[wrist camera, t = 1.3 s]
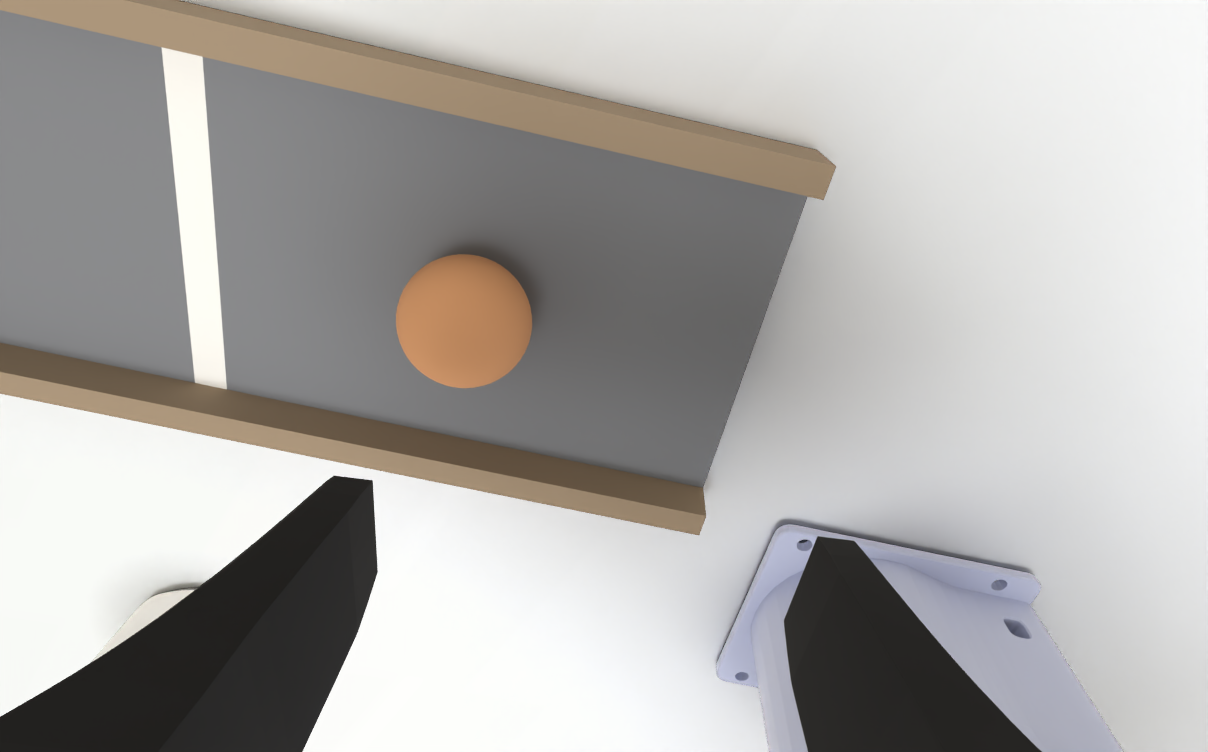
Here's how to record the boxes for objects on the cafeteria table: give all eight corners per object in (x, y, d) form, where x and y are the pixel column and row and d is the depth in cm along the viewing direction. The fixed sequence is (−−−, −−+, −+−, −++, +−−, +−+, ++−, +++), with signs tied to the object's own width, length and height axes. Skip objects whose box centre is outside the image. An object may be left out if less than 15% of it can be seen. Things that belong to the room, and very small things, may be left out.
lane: (817, 150, 17) (840, 170, 15) (695, 494, 23) (700, 546, 21) (-273, -106, 16) (-418, -123, 14) (-122, 326, 22) (-208, 362, 20)
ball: (550, 252, 19) (530, 301, 16) (530, 361, 20) (509, 425, 17) (424, 224, 18) (379, 267, 15) (414, 337, 20) (372, 397, 17)
